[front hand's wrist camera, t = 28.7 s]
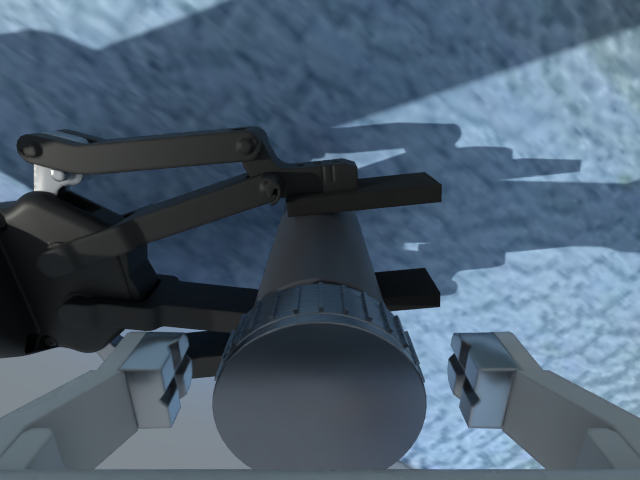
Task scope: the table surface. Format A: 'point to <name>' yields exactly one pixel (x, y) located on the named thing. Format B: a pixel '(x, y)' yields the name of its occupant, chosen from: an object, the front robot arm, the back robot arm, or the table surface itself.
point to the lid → (319, 383)
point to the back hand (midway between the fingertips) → (431, 238)
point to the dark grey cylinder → (319, 255)
